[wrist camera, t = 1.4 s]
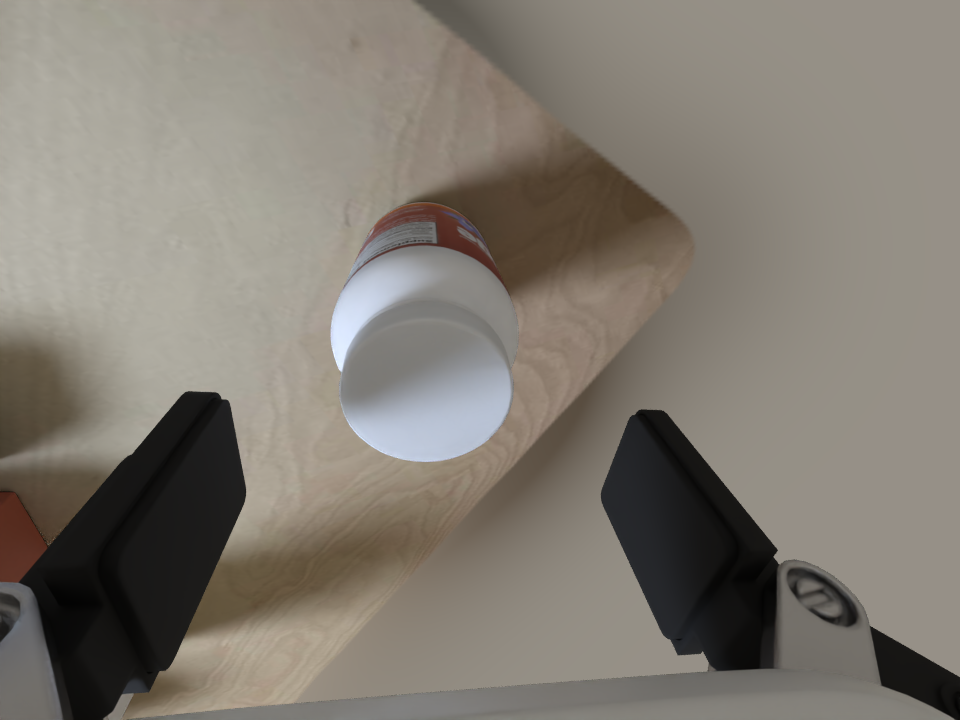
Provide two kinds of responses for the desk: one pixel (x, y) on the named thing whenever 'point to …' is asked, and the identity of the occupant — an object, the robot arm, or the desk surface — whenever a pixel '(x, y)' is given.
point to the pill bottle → (425, 337)
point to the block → (17, 539)
